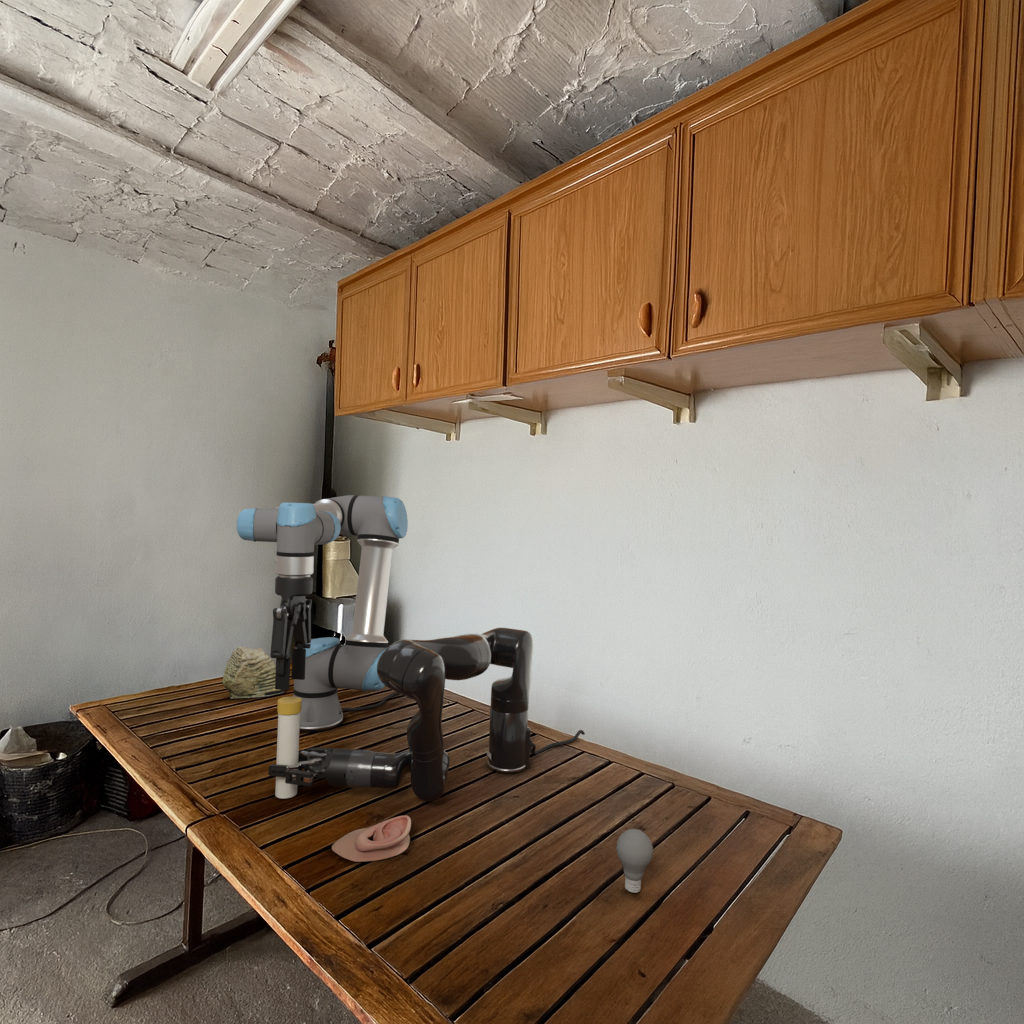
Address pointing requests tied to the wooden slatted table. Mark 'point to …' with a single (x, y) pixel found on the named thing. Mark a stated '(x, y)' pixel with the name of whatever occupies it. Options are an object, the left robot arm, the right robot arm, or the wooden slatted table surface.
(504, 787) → the wooden slatted table surface
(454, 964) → the wooden slatted table surface
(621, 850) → the light bulb
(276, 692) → the fossil
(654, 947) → the wooden slatted table surface
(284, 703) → the lid
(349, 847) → the anatomical model
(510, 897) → the wooden slatted table surface
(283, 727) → the white bottle
